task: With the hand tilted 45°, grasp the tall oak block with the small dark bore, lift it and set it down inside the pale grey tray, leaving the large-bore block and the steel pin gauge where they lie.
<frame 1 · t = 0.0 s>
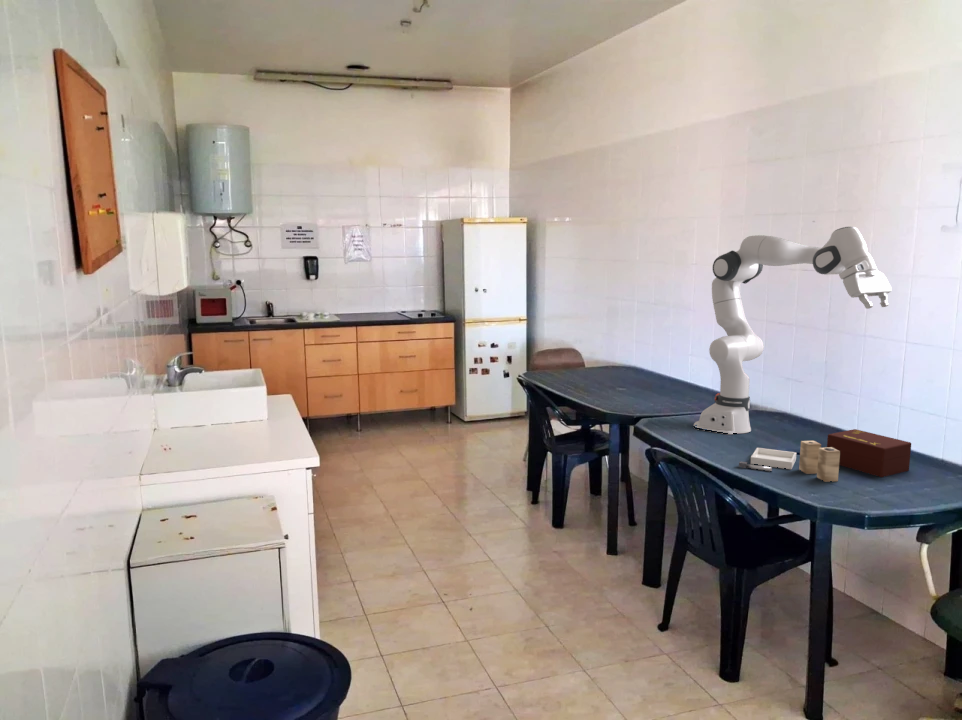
hand: (877, 307, 244), 54 cm above the table, tool tilted 30°, fingers open, 8 cm apart
pin gauge: (755, 469, 248), on the table
large-bore block: (827, 479, 237), on the table
box: (867, 466, 252), on the table
small-bore block: (809, 471, 245), on the table
tray: (773, 461, 256), on the table
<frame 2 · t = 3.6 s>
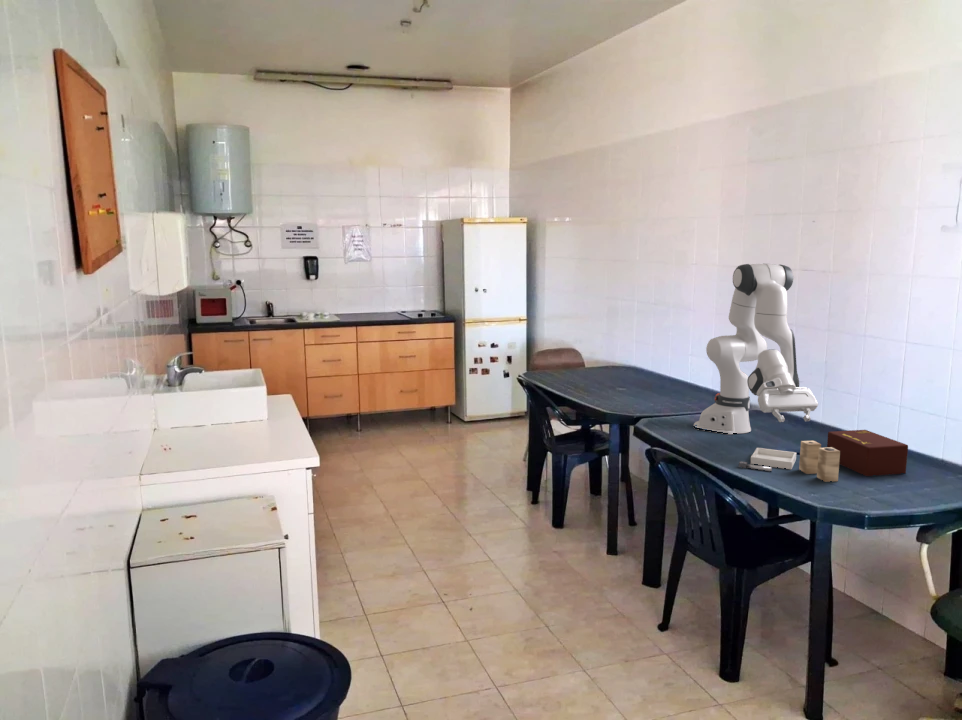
hand: (795, 420, 253), 15 cm above the table, tool tilted 45°, fingers open, 8 cm apart
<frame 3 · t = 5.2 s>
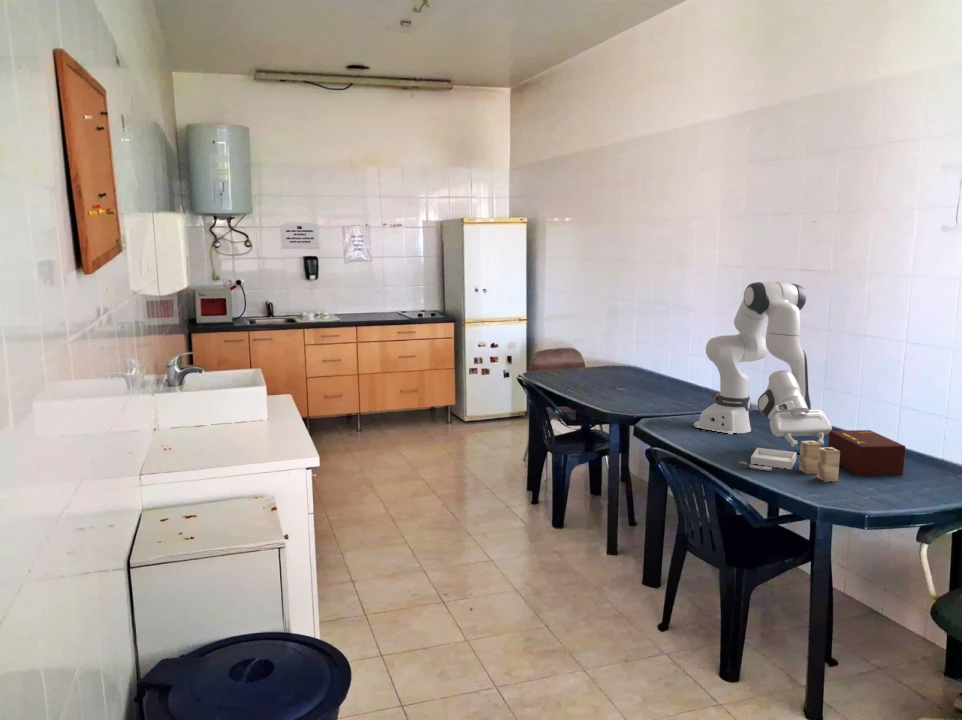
hand: (808, 445, 245), 9 cm above the table, tool tilted 45°, fingers open, 8 cm apart
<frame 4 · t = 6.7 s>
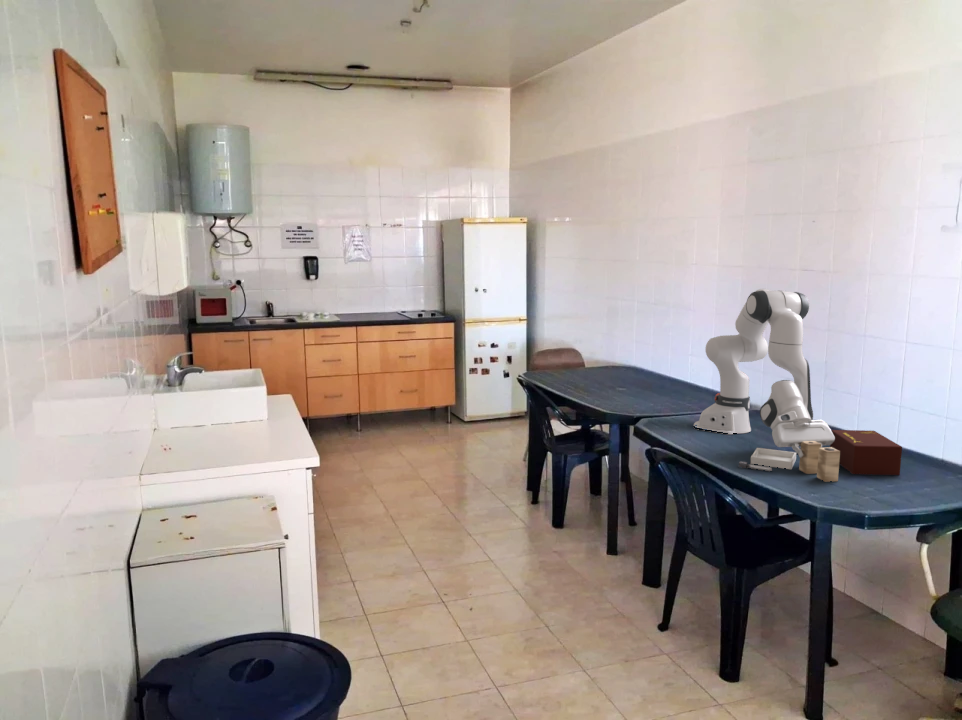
hand: (811, 456, 244), 5 cm above the table, tool tilted 45°, fingers closed on small-bore block, 4 cm apart
small-bore block: (809, 471, 245), on the table, touching gripper
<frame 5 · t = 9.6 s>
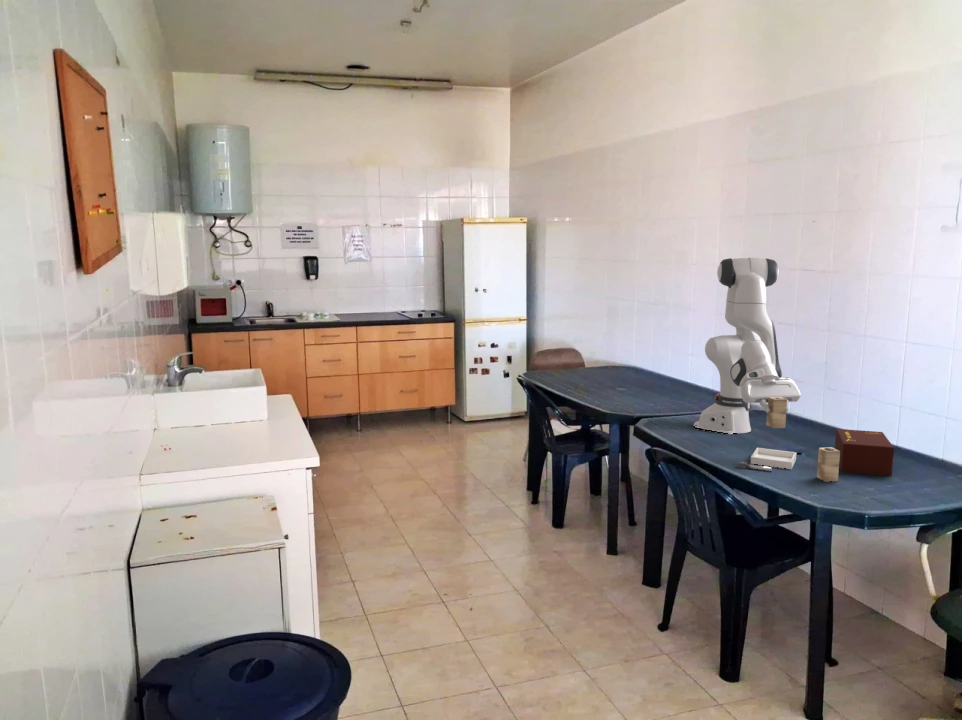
hand: (777, 411, 253), 18 cm above the table, tool tilted 45°, fingers closed on small-bore block, 4 cm apart
small-bore block: (775, 426, 254), point 13 cm above the table, touching gripper
when the fingers open (7 cm above the table, at t = 12.4 s): small-bore block drops 1 cm, resting on tray.
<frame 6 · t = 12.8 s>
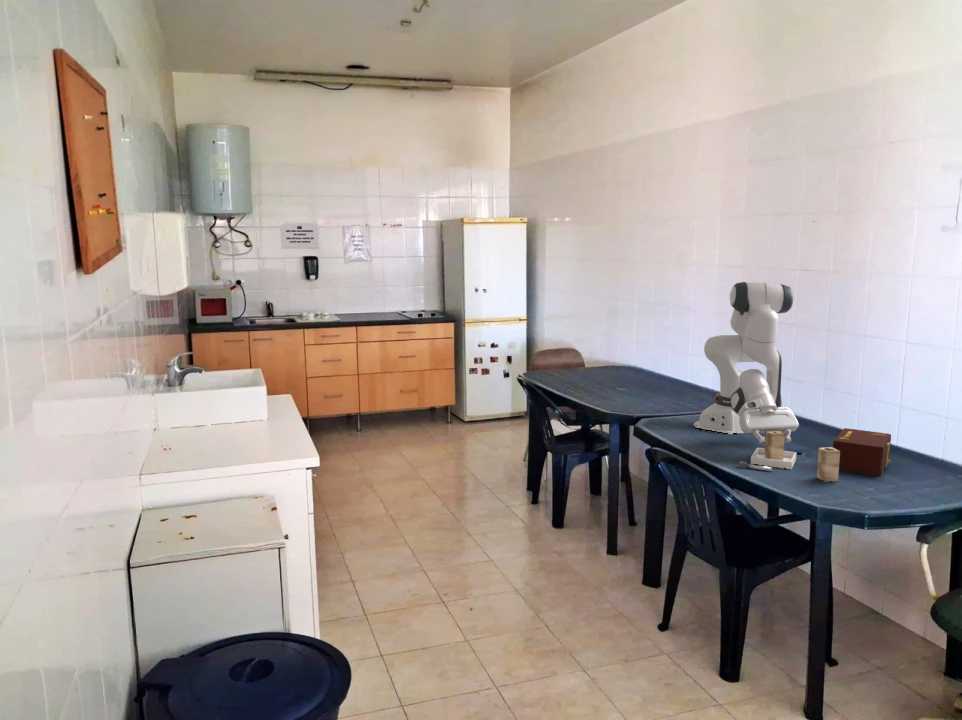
hand: (775, 441, 254), 7 cm above the table, tool tilted 45°, fingers open, 8 cm apart
small-bore block: (773, 460, 256), resting on tray
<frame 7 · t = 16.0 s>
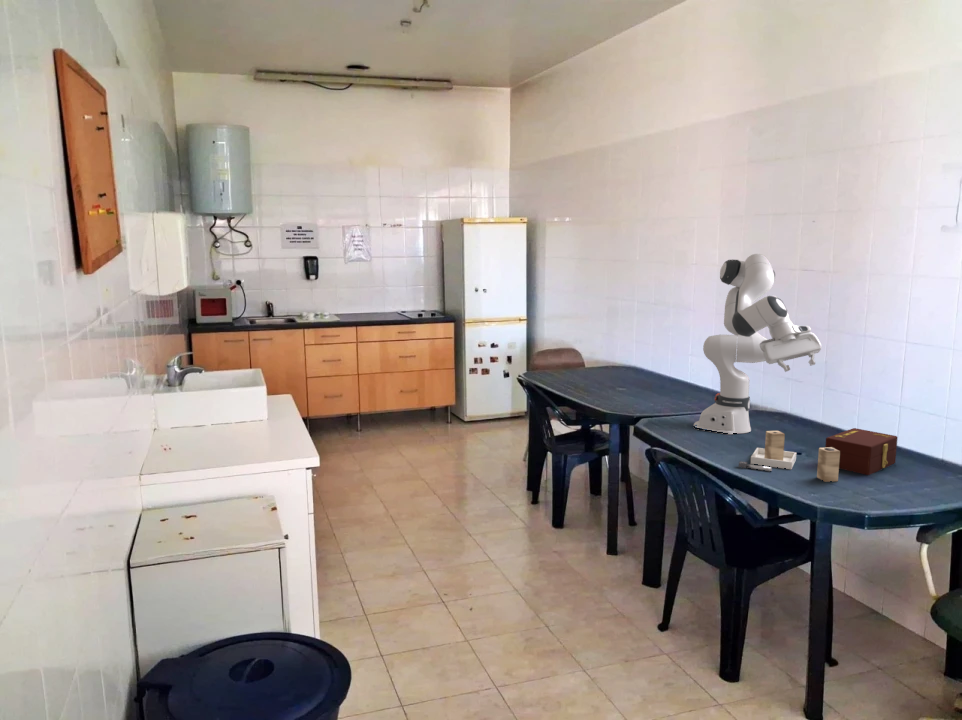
hand: (800, 367, 264), 31 cm above the table, tool tilted 40°, fingers open, 8 cm apart
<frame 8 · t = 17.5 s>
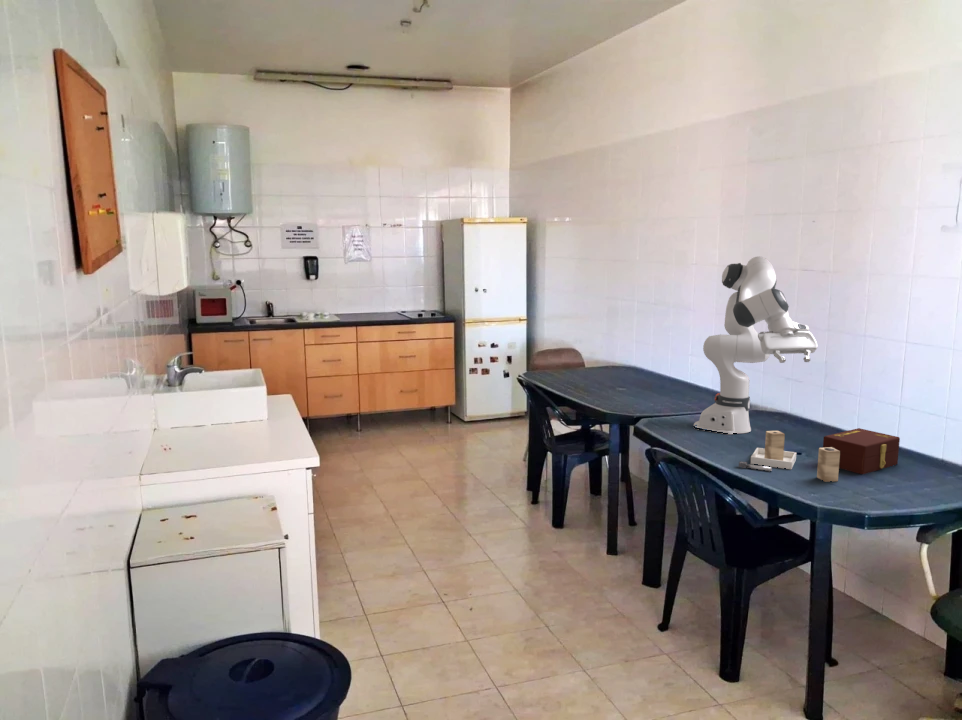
hand: (795, 361, 263), 33 cm above the table, tool tilted 45°, fingers open, 8 cm apart
at the end: small-bore block inside the target area on the tray (0.1 cm from its centre), point 0.5 cm above the tray's base; small-bore block tilted 0°; large-bore block moved 0.0 cm from its start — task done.
